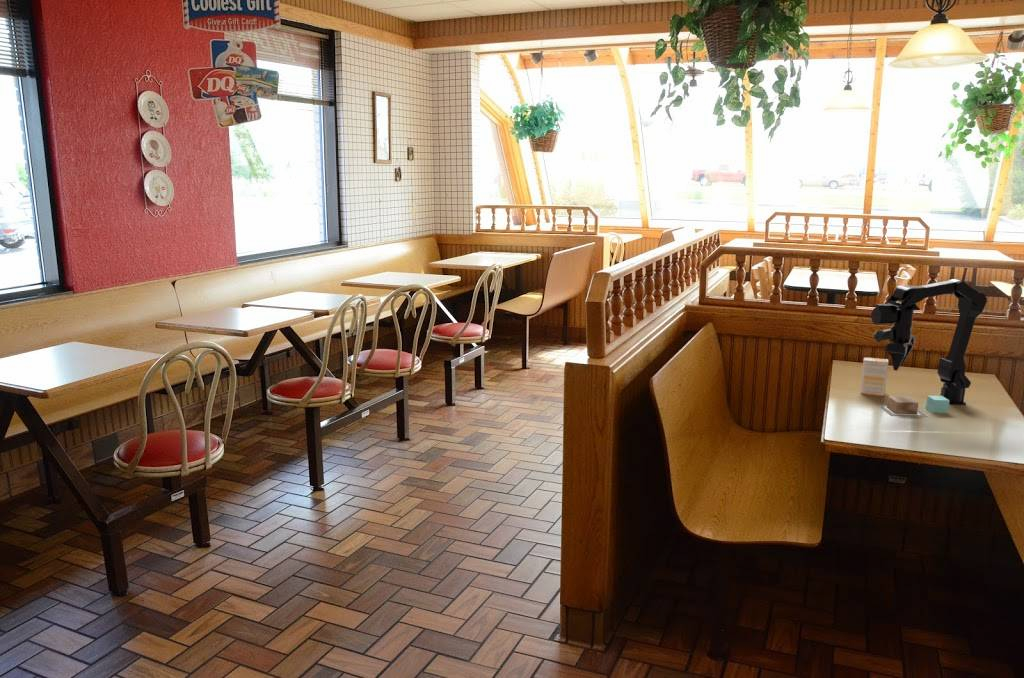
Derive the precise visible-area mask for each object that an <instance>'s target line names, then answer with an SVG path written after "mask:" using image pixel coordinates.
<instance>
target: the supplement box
mask: <svg viewBox="0 0 1024 678" xmlns="http://www.w3.org/2000/svg"><path fill="white" fill-rule="evenodd" d="M862 361H863V362H862V371H861V373H862V374H861V383H860V394H861V395H868V396H869V395H870V396H879V397H885V396H886V390H887V389H886V387H887V378H888V372H889V369H888V368H889V359H888V358H878V357H877V358H876V357H875V358H874V357H868V356H867V357H863V360H862Z"/></svg>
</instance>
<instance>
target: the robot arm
mask: <svg viewBox="0 0 1024 678" xmlns="http://www.w3.org/2000/svg"><path fill="white" fill-rule="evenodd" d="M948 294H949V295H950V294H953V296H954V297H955V298H957V301H958V302H957V309H958V313H959V315H958V321H957V322H956V323H957V324H956V327H955V330H954V333H953V337H952V340H951V343H950V347H949V350H948V354H947V355H946V356H945V357H944V358H942V357H940V358H939V361H938V365H937V366H936V369H937V372H936V373H937V374H938V376H939V380H940V382H942V383H943V385H942V387H941V388H940V395H939V396H943V397H945V398H947V399H948V400H950V401H949V405H966V404H967V402H966V401H965V394H966V389H969V388H970V386H971V383H972V381H970V379H969V378H968V377H967V376H966V370H967V369H966V368H967V365H966V362H965V356H966V352H967V348H968V346H969V342H970V338H971V336H972V332H973V329H974V326H975V325H974V324H975V322H976V318H977V317H978V316H980V315H981V314H982V313H983V312H984V310H985V307H986V305H987V302H988V297H987V296H986V294H985V293H983V292H979V291H978V290H976V289H975V288H973V287H971V286H970V285H969V284H967V283H966V282H965V281H963V280H962V279H961V280H960V279H957V278H952V279H949V280H948V279H947V280H944V281H940V282H939V281H938V282H934V283H929V284H923V285H909V284H908V285H897V286H896V287H895V289H894V291H893V293H892V294H891V295H890V296H889V298H888V299H887V301H885V304H881V303H876V304H875V307H874V308H873V309H872V311H871V312H870V313H871V314H870V319H871V322H872V323H873V324H874V325H891V326H890V328H886V329H880V330H876V331H875V332H874V333H873V335H874V336H873V339H874V340H875V343H880V342H881V341H887V340H889V342H888V343H887V344H885V349H884V350H885V352H886V353H887V354H888V355H889V356H890V357H891V362H892V363H891V364H892V367H893V368H892V369H893V371H899V368H900V366H902V365H904V363H905V361H906V359H907V357H908V356H909V354H910V353H911V351H912V349H913V347H914V346H915V344H916V339H917V337H916V336H915V335H914V334H912V330H914V325H913V320H914V311H920V310H921V308H920V307H919V306H918V305H917V304H918V303H921V302H922V301H923V300H925V299H928V298H932V297H938V296H943V295H948ZM892 324H893V325H892Z"/></svg>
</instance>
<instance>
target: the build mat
mask: <svg viewBox="0 0 1024 678" xmlns="http://www.w3.org/2000/svg"><path fill="white" fill-rule="evenodd" d="M876 406H877V407H879V408H880V409H881V410H882V411H884V412H885V413H886V414H888V415H889V416H890V417H911V418H912V417H913V418H914V417H916V418H918V417H921V418H922V417H923V418H928V415H926V414H925V413H923V412H922V411H920V410H919V409H918V410H917V414H895V413H894V412H893V411H891V410H890V409H889V408H887V404H876Z"/></svg>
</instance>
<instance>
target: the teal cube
mask: <svg viewBox="0 0 1024 678" xmlns="http://www.w3.org/2000/svg"><path fill="white" fill-rule="evenodd" d="M949 401H950V400H948V399H947V398H945V397H943V396H940V395H927V396H926V402H925V403H926V404H925V409H926V410H928V412H931V414H949V406H950V404H949Z"/></svg>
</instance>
